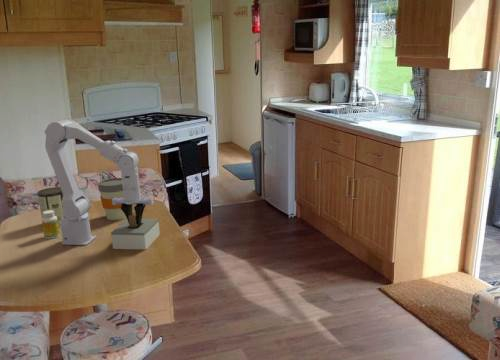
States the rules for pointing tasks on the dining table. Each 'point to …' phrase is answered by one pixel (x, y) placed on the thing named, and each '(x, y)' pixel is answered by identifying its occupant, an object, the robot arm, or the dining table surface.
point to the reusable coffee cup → (112, 197)
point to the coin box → (135, 235)
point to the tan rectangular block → (133, 221)
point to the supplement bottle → (50, 225)
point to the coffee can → (52, 202)
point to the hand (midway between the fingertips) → (135, 223)
